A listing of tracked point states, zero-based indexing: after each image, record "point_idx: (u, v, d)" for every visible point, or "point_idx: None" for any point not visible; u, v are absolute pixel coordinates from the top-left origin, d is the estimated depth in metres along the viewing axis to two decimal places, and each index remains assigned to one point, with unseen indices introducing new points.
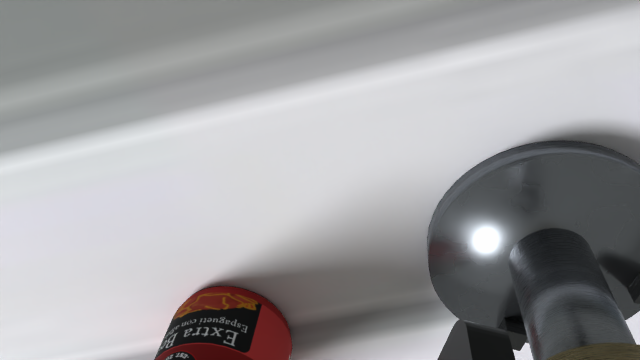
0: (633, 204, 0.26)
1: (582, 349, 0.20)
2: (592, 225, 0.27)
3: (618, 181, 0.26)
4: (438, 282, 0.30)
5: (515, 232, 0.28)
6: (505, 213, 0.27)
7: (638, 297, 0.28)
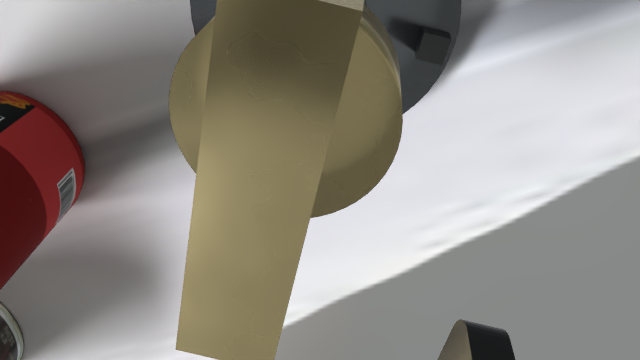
0: None
1: None
2: None
3: None
4: None
5: None
6: None
7: (419, 51, 0.25)
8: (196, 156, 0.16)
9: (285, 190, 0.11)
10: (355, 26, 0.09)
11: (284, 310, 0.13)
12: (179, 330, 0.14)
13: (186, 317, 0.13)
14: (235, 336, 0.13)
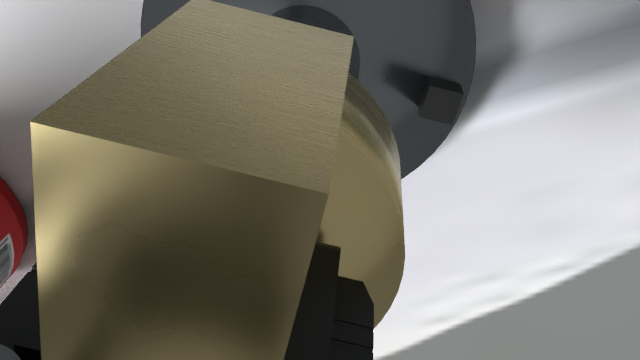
0: None
1: None
2: None
3: None
4: None
5: None
6: None
7: (423, 107, 0.20)
8: None
9: None
10: (315, 221, 0.05)
11: None
12: None
13: None
14: None
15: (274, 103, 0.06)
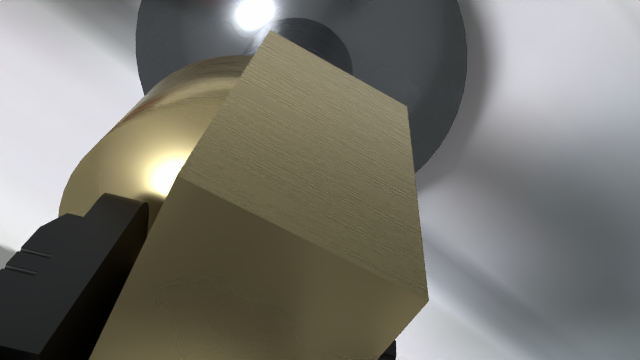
0: (425, 98, 0.21)
1: (217, 58, 0.12)
2: (374, 79, 0.20)
3: (444, 60, 0.20)
4: None
5: (308, 3, 0.19)
6: None
7: None
8: None
9: None
10: (407, 320, 0.05)
11: None
12: None
13: None
14: None
15: (363, 182, 0.06)
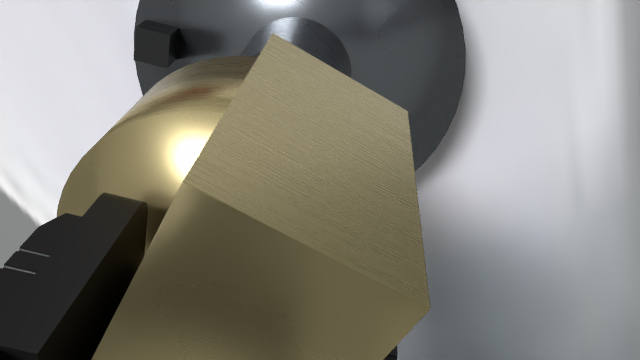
0: None
1: (217, 59, 0.12)
2: None
3: (424, 129, 0.21)
4: None
5: (341, 19, 0.19)
6: (374, 0, 0.19)
7: None
8: None
9: None
10: (408, 327, 0.05)
11: None
12: None
13: None
14: None
15: (366, 188, 0.06)
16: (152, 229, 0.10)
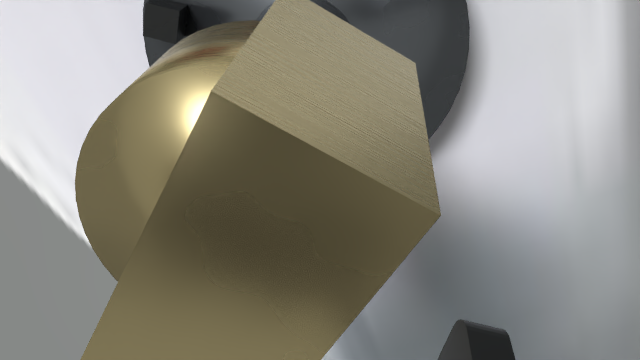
0: None
1: (229, 23, 0.12)
2: None
3: (428, 107, 0.22)
4: None
5: None
6: None
7: None
8: (100, 231, 0.12)
9: None
10: (420, 233, 0.05)
11: None
12: None
13: None
14: None
15: (378, 117, 0.06)
16: None
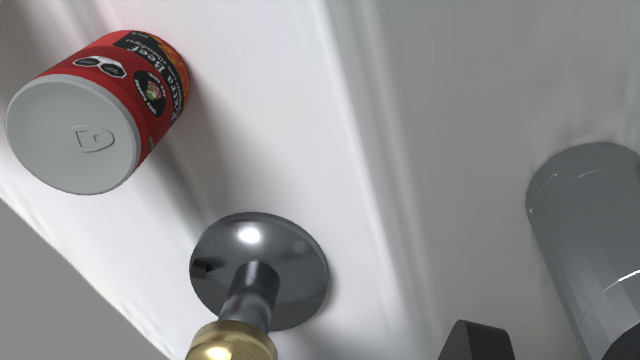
0: (298, 310, 0.50)
1: (224, 321, 0.40)
2: (284, 295, 0.49)
3: (312, 302, 0.49)
4: (230, 227, 0.46)
5: (275, 263, 0.48)
6: (287, 258, 0.47)
7: None
8: None
9: None
10: None
11: None
12: None
13: None
14: None
15: None
16: None
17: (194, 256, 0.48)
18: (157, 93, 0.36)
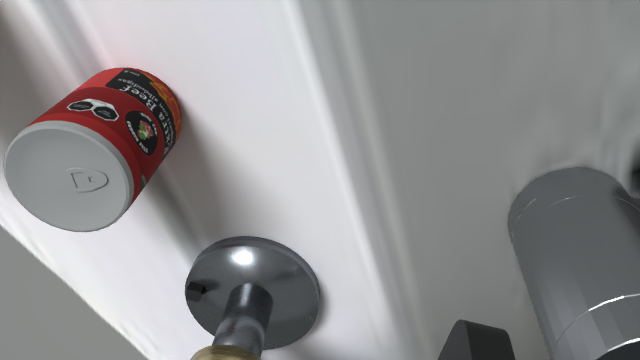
0: (292, 329, 0.52)
1: (218, 346, 0.42)
2: (277, 315, 0.51)
3: (304, 322, 0.51)
4: (224, 251, 0.48)
5: (267, 285, 0.49)
6: (279, 280, 0.49)
7: None
8: None
9: None
10: None
11: None
12: None
13: None
14: None
15: None
16: None
17: (189, 279, 0.50)
18: (148, 132, 0.37)
